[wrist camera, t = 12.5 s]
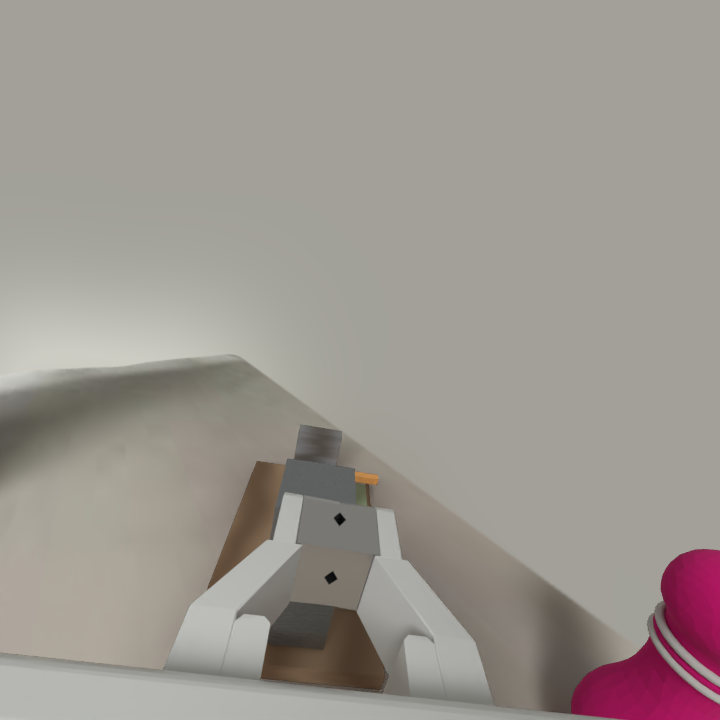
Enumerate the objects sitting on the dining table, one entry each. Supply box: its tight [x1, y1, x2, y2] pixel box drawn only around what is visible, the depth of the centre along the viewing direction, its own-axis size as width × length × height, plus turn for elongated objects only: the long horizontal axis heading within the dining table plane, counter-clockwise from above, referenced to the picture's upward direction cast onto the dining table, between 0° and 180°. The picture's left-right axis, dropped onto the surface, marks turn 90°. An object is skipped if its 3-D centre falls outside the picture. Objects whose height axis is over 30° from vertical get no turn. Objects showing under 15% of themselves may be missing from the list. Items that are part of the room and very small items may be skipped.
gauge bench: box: [207, 425, 385, 689], centre depth 35 cm, size 14×22×8 cm, turn 2°
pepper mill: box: [571, 549, 720, 720], centre depth 21 cm, size 7×7×20 cm
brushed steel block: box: [267, 459, 356, 650], centre depth 29 cm, size 5×10×12 cm, turn 2°
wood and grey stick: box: [303, 460, 378, 485], centre depth 43 cm, size 9×2×2 cm, turn 92°
